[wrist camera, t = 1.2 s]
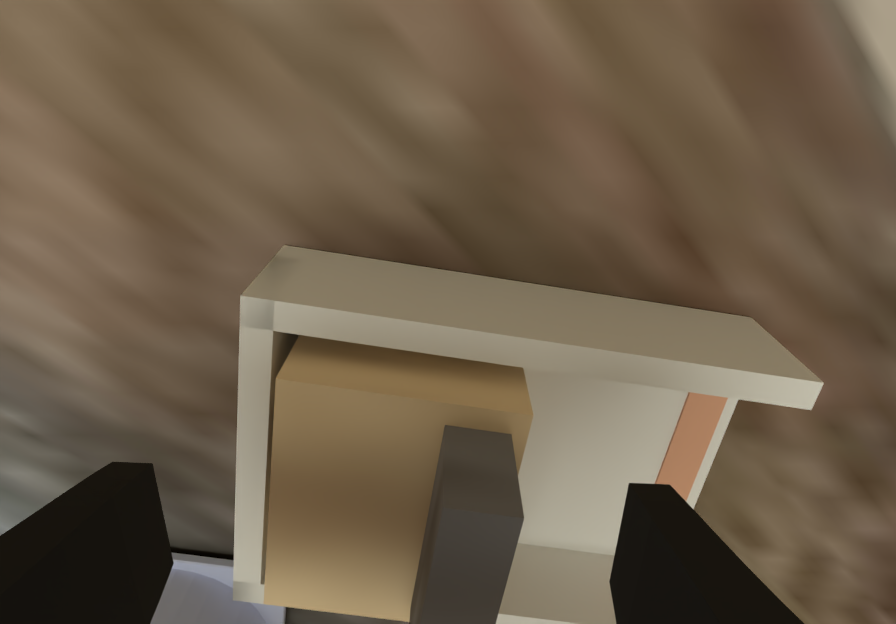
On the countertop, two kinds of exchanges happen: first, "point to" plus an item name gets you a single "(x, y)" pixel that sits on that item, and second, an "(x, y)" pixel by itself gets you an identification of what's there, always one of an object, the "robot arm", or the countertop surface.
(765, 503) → the countertop surface
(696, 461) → the bay
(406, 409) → the tan block with handle
